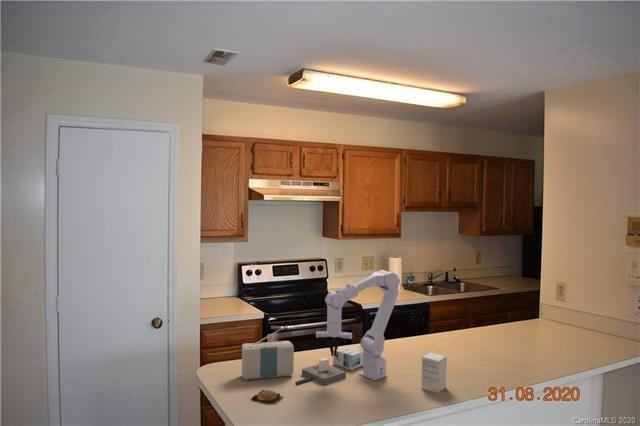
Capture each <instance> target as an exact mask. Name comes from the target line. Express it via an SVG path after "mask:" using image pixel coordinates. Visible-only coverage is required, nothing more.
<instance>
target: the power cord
mask: <svg viewBox="0 0 640 426" xmlns="http://www.w3.org/2000/svg"><path fill="white" fill-rule="evenodd" d="M311 381H314V380H313V378H312V377H310V378H308V377H306V378H303V379H300V380H297V381H295V383H294V384H295V385H296V386H297V385H300V384H303V383H307V382H311Z"/></svg>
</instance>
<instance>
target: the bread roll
mask: <svg viewBox="0 0 640 426" xmlns="http://www.w3.org/2000/svg"><path fill="white" fill-rule="evenodd" d="M284 398H285V397H284V396H282V395H281V393H279V392H278V393H277V392H276V391H274V390H269V389H262V390H260V391H259V392H258V394H255V395H254V396H252V397H251V401H253V402H256V403H259V404H260V403H261V404H266V405H277V404H279V403H280V402H281V401H283V399H284Z"/></svg>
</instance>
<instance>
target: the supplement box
mask: <svg viewBox="0 0 640 426" xmlns="http://www.w3.org/2000/svg"><path fill="white" fill-rule="evenodd" d="M446 388H447V356H446V355H442V354H437V353H434V352H429V353H427V354H425V355H423V356H421V389H422V390H425V391H429V392H433V393H436V394H439V393H441V392H442V391H443V390H445V389H446Z"/></svg>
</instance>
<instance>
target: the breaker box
mask: <svg viewBox="0 0 640 426" xmlns="http://www.w3.org/2000/svg"><path fill="white" fill-rule="evenodd" d="M301 376H303V377H306V378H310V377H312V378H313V380H312V381H314V382H316V383H318V384H320V385H322V386H325V385H328V384H331V383H335V382H337V381H341V380H344V379H346V378H347V372H346V371H344V370H342V369H340V368H337V367H335V366H332V365H330V364H329V370H326V371H323V372H322V371H319V363H318V364H315V365H312V366H308V367H304V368H301Z"/></svg>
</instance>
